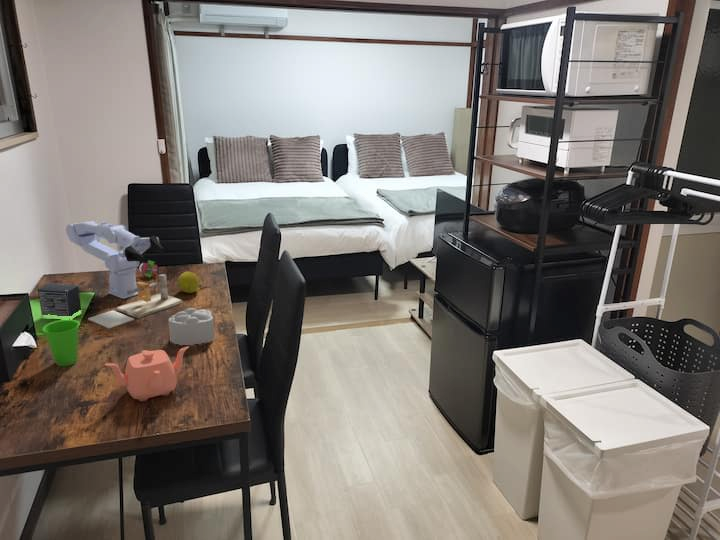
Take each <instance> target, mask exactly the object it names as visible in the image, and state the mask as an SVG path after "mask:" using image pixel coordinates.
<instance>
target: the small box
mask: <svg viewBox="0 0 720 540" xmlns="http://www.w3.org/2000/svg"><path fill="white" fill-rule="evenodd" d="M37 293H38V298H39V299H38V300H39V306H40V311H41V312H40V313H41V316H42V315H48V314H50V315H57V316H72V315H73V314H74V313H76V312H78V311H79V310H82V305H81V304H82V303H81V299H80V297H81V296H80V291H79V285H74V284H58V283H49V284H46V285H44V286H42V287H40V288H38V289H37Z"/></svg>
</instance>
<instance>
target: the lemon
mask: <svg viewBox="0 0 720 540" xmlns="http://www.w3.org/2000/svg"><path fill="white" fill-rule="evenodd" d="M177 280H178V281H177V286H178V287H179V289H180V290H181V291H182V292H184V293H186V294H192V293H195V292H196V291H198V289H199V287H200V278H199V277H198V275H197V274H196V273H194V272H192V271H185V272H182V273H181V274H180V275H179V276H178V279H177Z"/></svg>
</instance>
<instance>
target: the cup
mask: <svg viewBox="0 0 720 540" xmlns="http://www.w3.org/2000/svg"><path fill="white" fill-rule="evenodd" d="M80 325H81V323H80V322H79V321H78V320H76V319H73V320H70V319H69V320H54V321H51V322H49V323H47V324H45V325H43V327H42V330H41V331H42V333H44V335H45V338H46V340H47V343H48V345H49V348H50V351H51V353H52V357H53V359H54V361H55V364H56V365H57V366H59V367H68V366H71V365H74V364H75V363H76V362H77V361H78V346H79V327H80Z"/></svg>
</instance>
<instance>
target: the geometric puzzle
mask: <svg viewBox="0 0 720 540" xmlns="http://www.w3.org/2000/svg"><path fill="white" fill-rule="evenodd" d="M158 266H159V265H158V264H157V263H155V261H153V260H149V259H148V260H147V261H145V262H141V263H139V266H138V267H139V268H138V271H139V272H140V273H141V274H142V275H144V277H146V278H150V279H151V278H152V277H154V276H155V275H157V273H158V270H159V269H158Z"/></svg>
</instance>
